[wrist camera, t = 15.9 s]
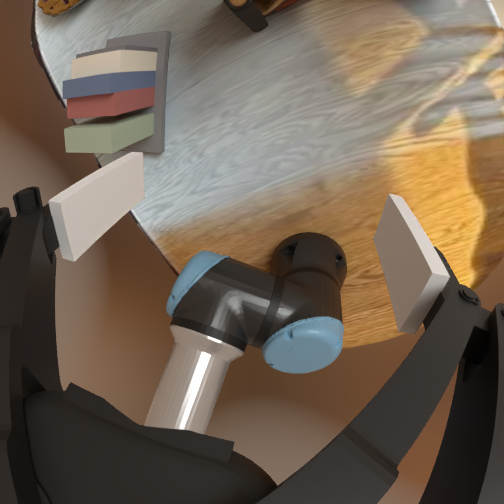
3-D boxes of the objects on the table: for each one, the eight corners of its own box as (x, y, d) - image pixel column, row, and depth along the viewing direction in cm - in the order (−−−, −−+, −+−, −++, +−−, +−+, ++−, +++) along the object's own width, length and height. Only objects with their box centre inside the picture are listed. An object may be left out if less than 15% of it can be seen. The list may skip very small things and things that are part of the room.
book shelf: (164, 151, 50) (121, 176, 38) (109, 147, 51) (62, 171, 39) (170, 31, 37) (124, 21, 25) (111, 40, 38) (58, 39, 26)
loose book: (153, 134, 47) (111, 153, 36) (110, 133, 48) (66, 152, 37) (154, 113, 45) (110, 127, 34) (110, 113, 46) (64, 129, 35)
